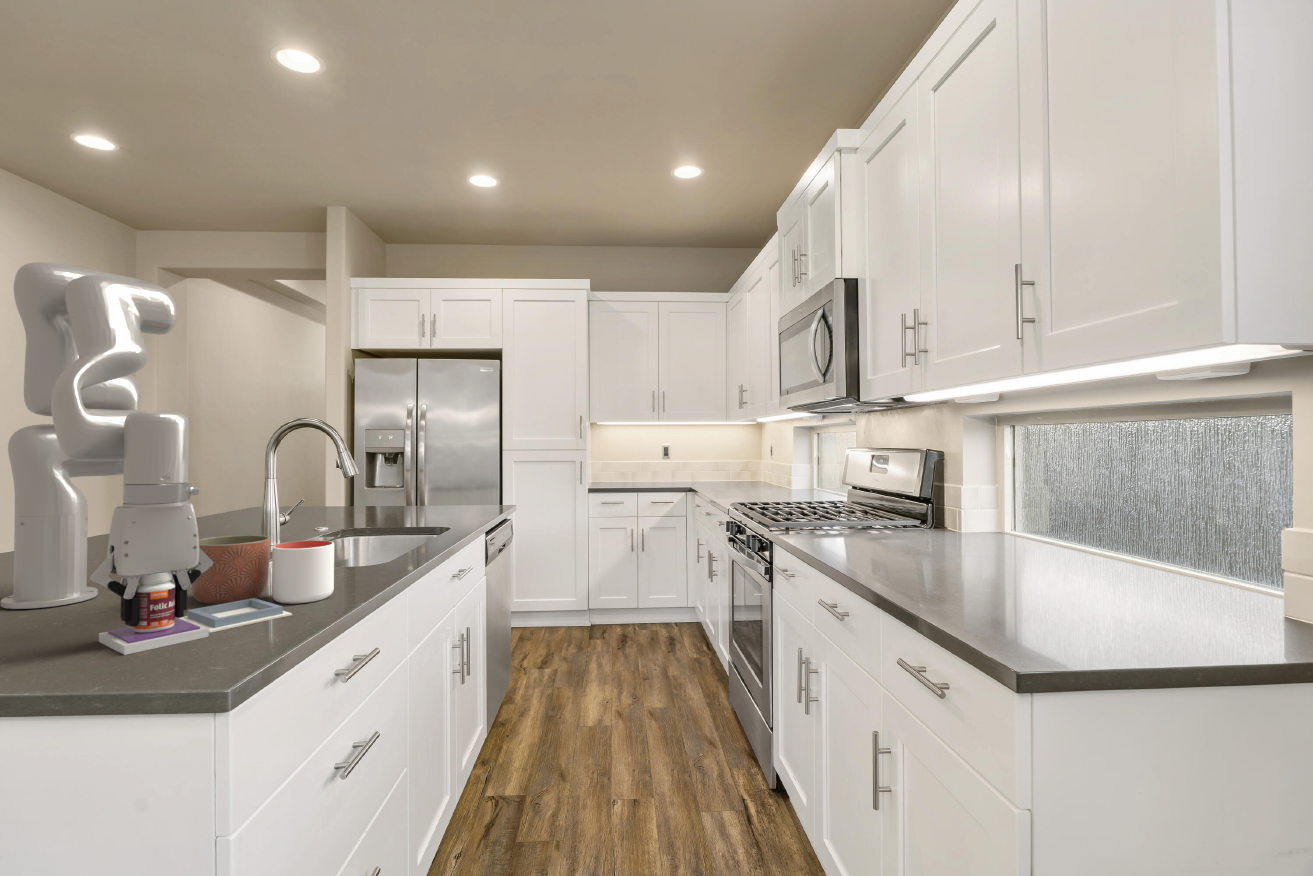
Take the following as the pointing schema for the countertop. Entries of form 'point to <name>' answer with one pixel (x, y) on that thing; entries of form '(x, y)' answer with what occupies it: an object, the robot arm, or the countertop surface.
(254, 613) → the square tray
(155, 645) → the ink pad
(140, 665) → the countertop surface
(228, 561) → the planter
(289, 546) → the cup
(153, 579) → the pill bottle
